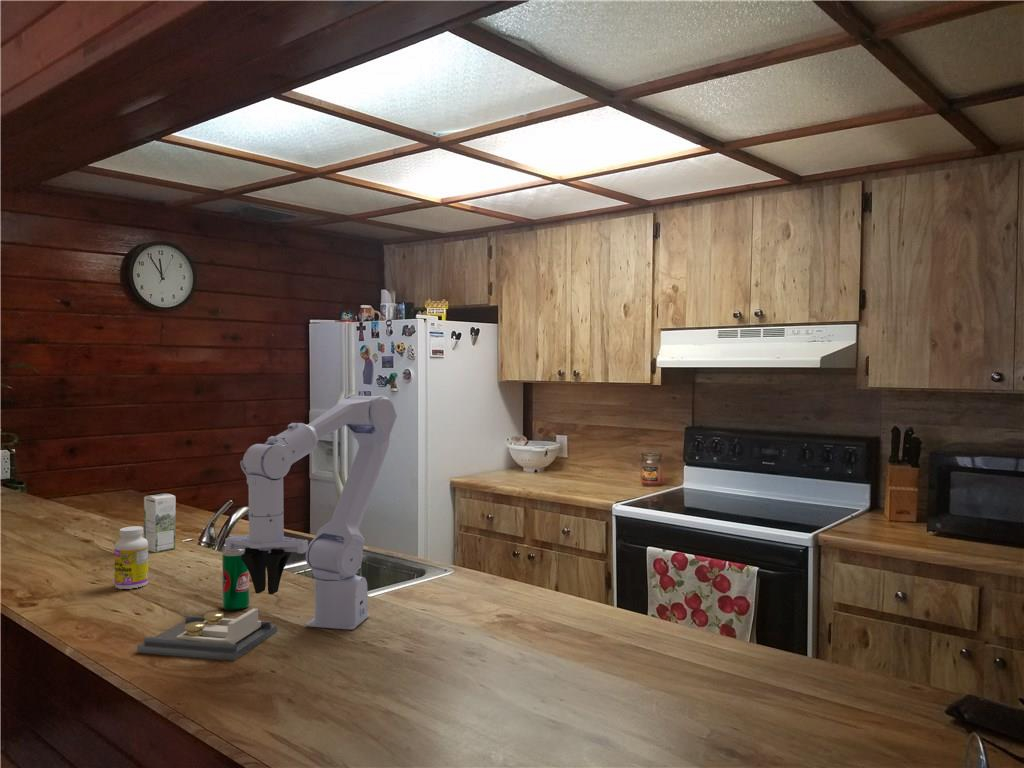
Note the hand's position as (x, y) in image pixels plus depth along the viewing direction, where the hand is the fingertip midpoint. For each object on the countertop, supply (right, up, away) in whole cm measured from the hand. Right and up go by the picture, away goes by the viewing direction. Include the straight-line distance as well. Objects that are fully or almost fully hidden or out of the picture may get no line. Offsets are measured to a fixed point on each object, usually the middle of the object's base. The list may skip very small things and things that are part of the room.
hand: (266, 592), depth 128 cm
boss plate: (-11, -9, +2) cm, 14 cm away
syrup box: (-51, -8, +70) cm, 87 cm away
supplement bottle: (-42, -9, +36) cm, 56 cm away
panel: (-9, -8, +2) cm, 12 cm away
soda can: (-13, -9, +21) cm, 27 cm away
